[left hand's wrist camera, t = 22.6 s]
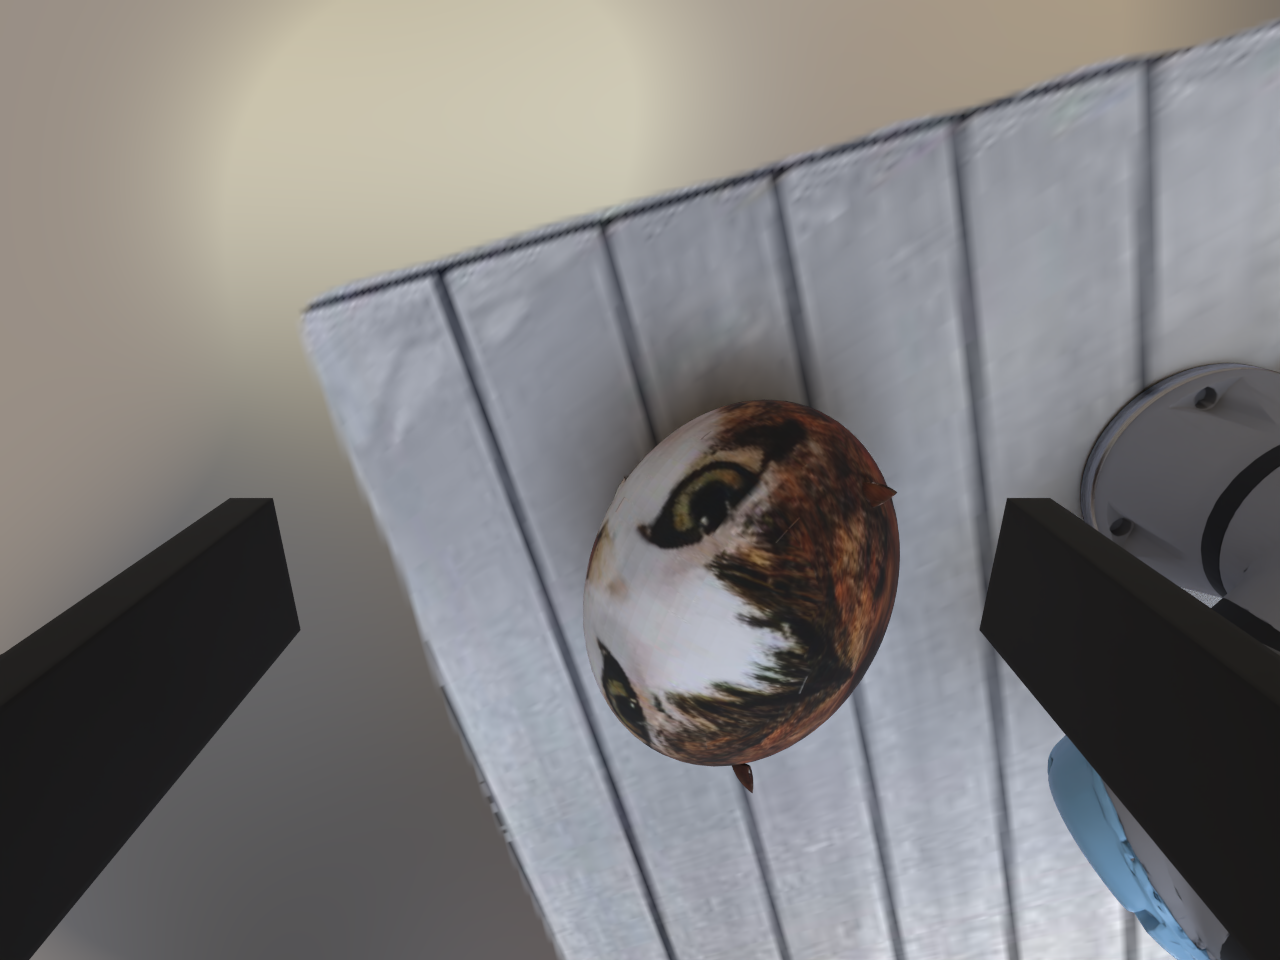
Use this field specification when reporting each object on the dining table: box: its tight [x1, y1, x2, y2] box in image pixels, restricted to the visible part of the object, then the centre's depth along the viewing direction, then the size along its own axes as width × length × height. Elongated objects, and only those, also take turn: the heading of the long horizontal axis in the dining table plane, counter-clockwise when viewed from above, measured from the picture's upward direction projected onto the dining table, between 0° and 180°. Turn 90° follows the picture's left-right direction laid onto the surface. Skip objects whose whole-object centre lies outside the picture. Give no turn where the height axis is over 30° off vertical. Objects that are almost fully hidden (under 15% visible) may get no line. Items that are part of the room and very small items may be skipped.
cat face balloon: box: [583, 400, 900, 793], centre depth 41 cm, size 22×18×20 cm
